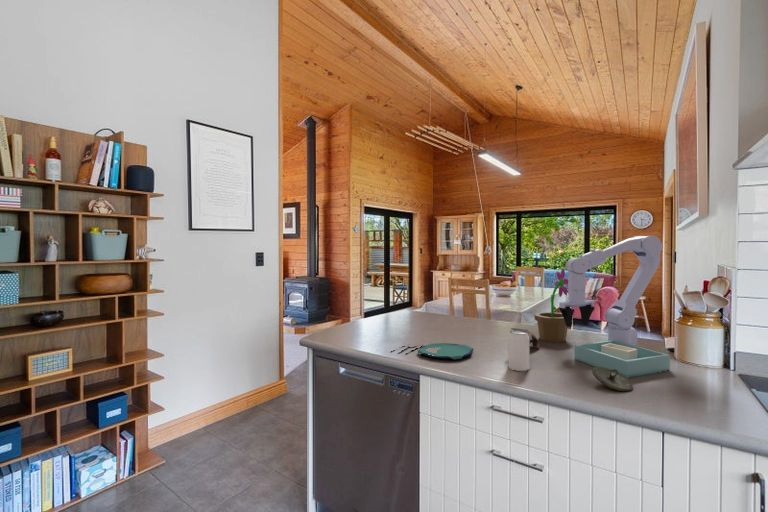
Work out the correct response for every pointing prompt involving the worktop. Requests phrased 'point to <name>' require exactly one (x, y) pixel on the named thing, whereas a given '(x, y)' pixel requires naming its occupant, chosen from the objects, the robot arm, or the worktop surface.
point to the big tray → (641, 366)
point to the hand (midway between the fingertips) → (576, 325)
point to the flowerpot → (553, 316)
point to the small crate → (619, 351)
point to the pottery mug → (534, 341)
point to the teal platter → (447, 350)
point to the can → (518, 350)
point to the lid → (612, 379)
